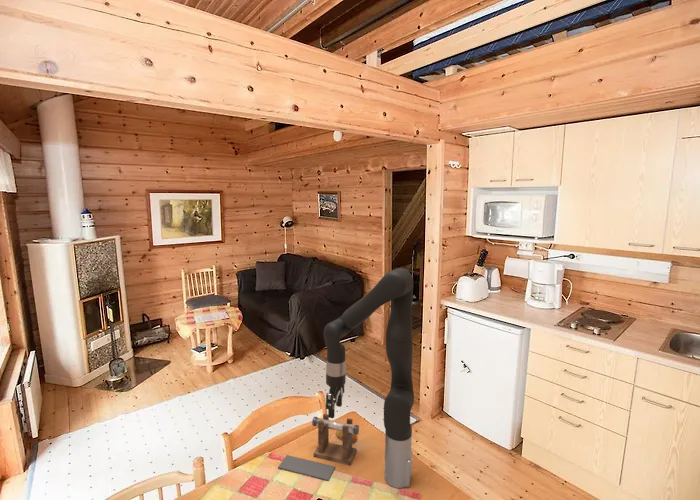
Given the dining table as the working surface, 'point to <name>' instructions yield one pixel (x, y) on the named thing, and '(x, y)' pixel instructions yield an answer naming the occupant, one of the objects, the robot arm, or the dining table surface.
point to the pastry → (340, 435)
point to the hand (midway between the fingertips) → (335, 411)
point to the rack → (335, 445)
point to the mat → (307, 467)
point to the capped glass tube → (336, 425)
